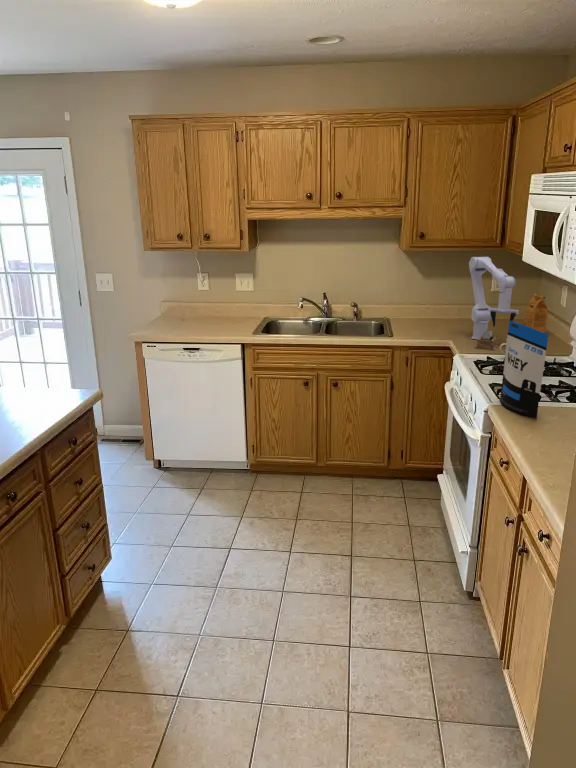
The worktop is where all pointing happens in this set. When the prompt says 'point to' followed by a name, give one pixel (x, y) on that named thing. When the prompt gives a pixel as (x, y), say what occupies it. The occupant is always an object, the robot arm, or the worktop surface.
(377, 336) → the worktop surface
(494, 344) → the brown rectangular frame
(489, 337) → the silver metal block
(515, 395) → the protein powder
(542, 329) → the coffee package
